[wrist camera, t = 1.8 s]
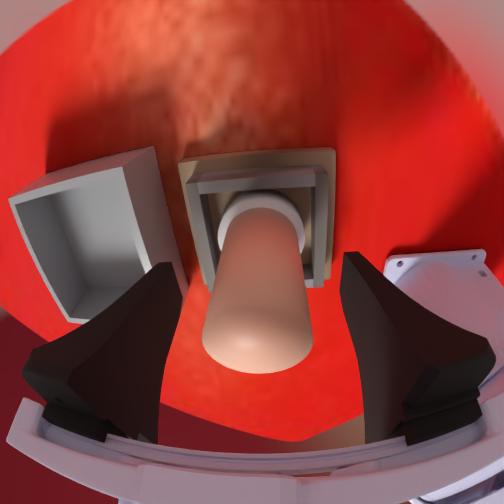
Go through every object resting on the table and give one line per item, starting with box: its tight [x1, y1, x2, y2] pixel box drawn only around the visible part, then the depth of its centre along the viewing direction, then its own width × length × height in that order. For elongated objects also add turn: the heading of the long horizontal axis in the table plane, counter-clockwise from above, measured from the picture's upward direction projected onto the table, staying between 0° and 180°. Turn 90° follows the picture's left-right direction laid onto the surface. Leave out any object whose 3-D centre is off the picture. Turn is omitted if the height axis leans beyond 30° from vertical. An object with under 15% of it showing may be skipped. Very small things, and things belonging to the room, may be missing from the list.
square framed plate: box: [177, 147, 336, 292], centre depth 15 cm, size 8×8×2 cm
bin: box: [8, 146, 189, 324], centre depth 16 cm, size 9×10×4 cm
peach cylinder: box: [202, 189, 313, 373], centre depth 12 cm, size 4×4×8 cm
